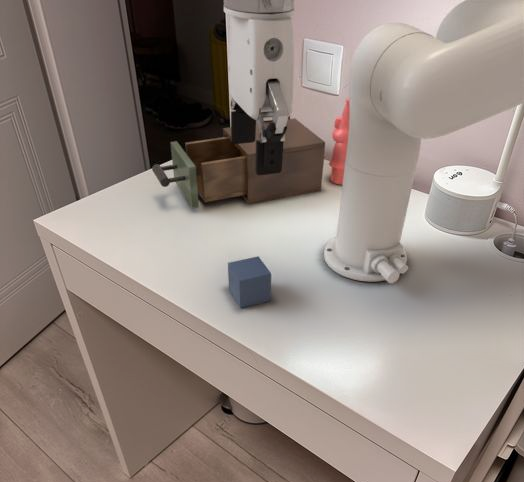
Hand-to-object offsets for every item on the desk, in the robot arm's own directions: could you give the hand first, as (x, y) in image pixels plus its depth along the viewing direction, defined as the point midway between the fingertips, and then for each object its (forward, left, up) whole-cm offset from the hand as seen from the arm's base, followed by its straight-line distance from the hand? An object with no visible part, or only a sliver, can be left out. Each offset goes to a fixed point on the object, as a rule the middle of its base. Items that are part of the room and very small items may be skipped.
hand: (255, 157), depth 67 cm
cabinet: (+27, -14, -18) cm, 36 cm away
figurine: (+24, -27, -18) cm, 41 cm away
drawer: (+27, -1, -17) cm, 32 cm away
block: (-4, +3, -18) cm, 19 cm away
